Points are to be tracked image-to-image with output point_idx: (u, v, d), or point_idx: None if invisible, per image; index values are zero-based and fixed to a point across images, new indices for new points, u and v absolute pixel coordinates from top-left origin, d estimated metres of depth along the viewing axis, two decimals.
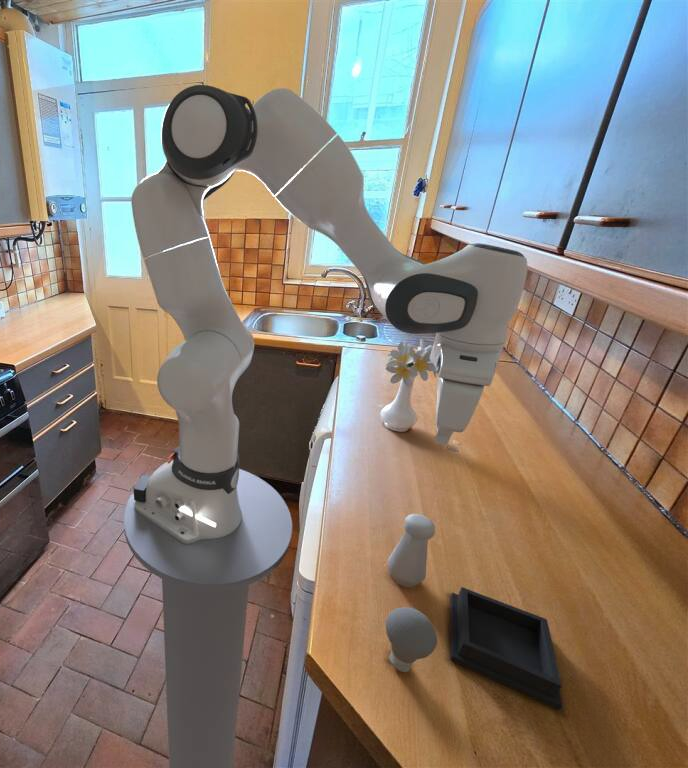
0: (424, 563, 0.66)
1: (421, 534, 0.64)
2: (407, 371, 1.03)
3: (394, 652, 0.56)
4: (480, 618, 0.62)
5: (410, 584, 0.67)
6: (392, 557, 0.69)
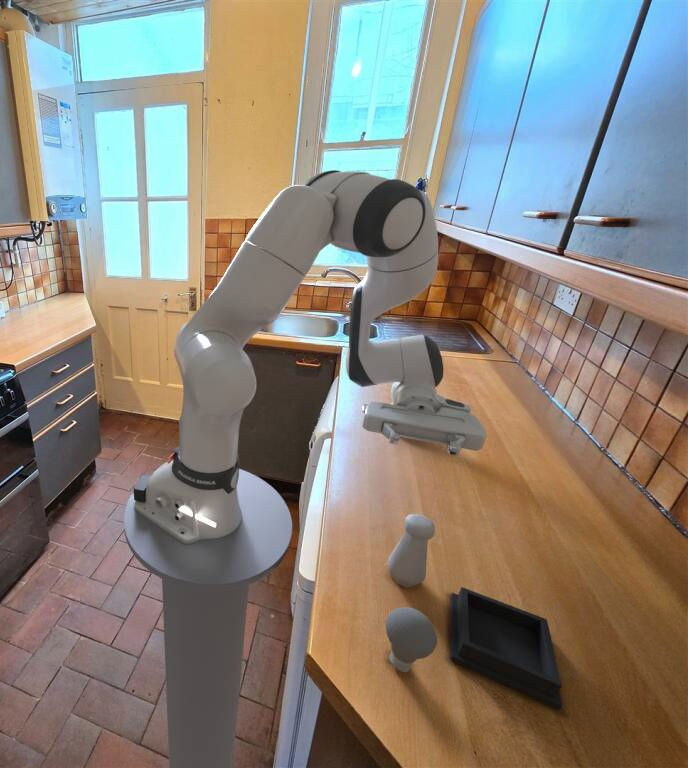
0: (424, 563, 0.66)
1: (421, 534, 0.64)
2: None
3: (394, 652, 0.56)
4: (480, 618, 0.62)
5: (410, 584, 0.67)
6: (392, 557, 0.69)
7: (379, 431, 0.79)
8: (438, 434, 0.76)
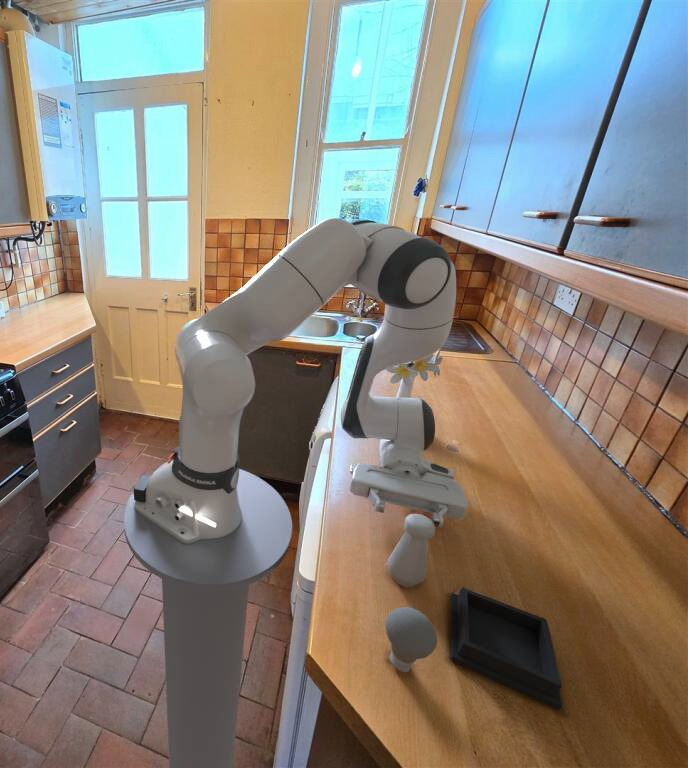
0: (424, 563, 0.66)
1: (421, 534, 0.64)
2: (407, 371, 1.03)
3: (394, 652, 0.56)
4: (480, 618, 0.62)
5: (410, 584, 0.67)
6: (392, 557, 0.69)
7: (366, 496, 0.81)
8: (422, 502, 0.78)
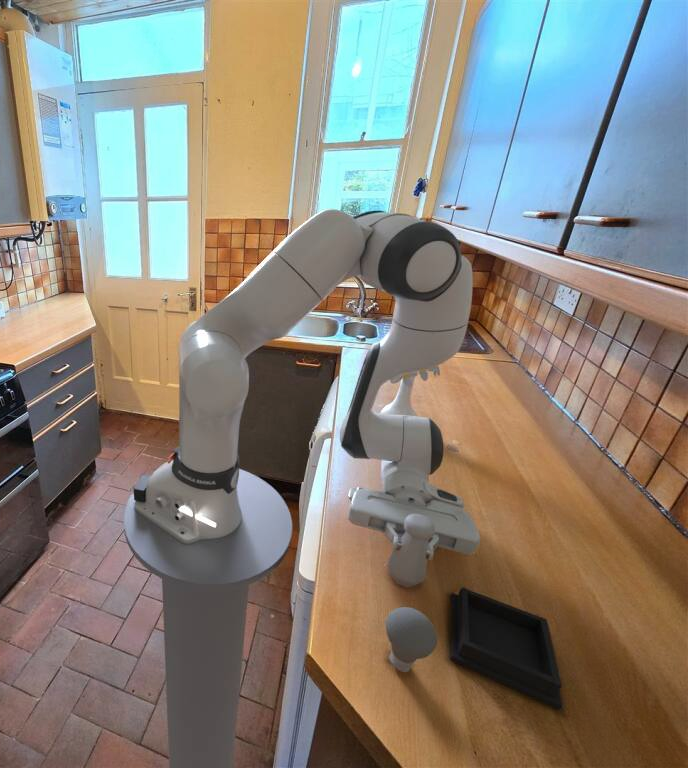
0: (424, 563, 0.66)
1: (421, 534, 0.64)
2: None
3: (394, 652, 0.56)
4: (480, 618, 0.62)
5: (410, 584, 0.67)
6: (392, 557, 0.69)
7: (366, 526, 0.74)
8: None
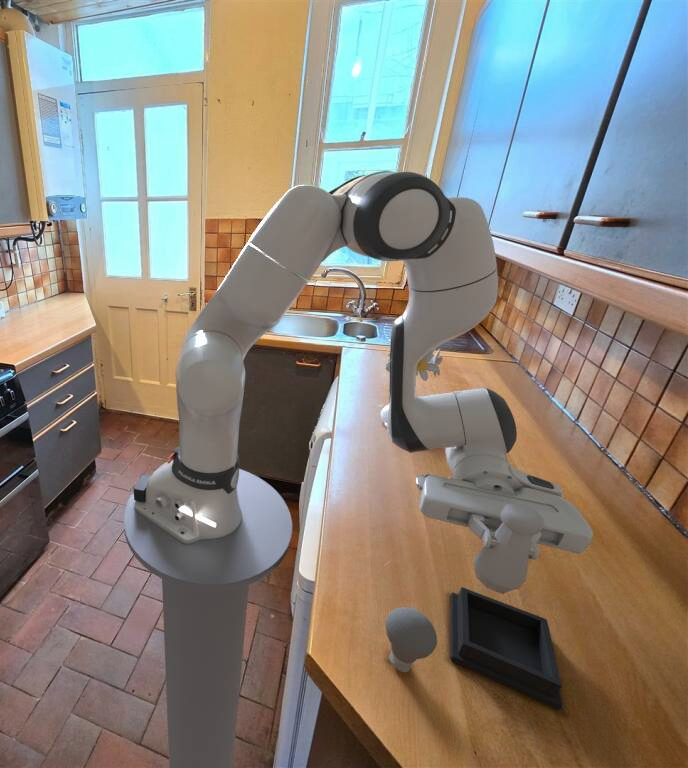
0: (526, 563, 0.54)
1: (528, 528, 0.51)
2: None
3: (394, 652, 0.56)
4: (480, 618, 0.62)
5: (507, 589, 0.55)
6: (482, 556, 0.57)
7: (444, 519, 0.61)
8: None
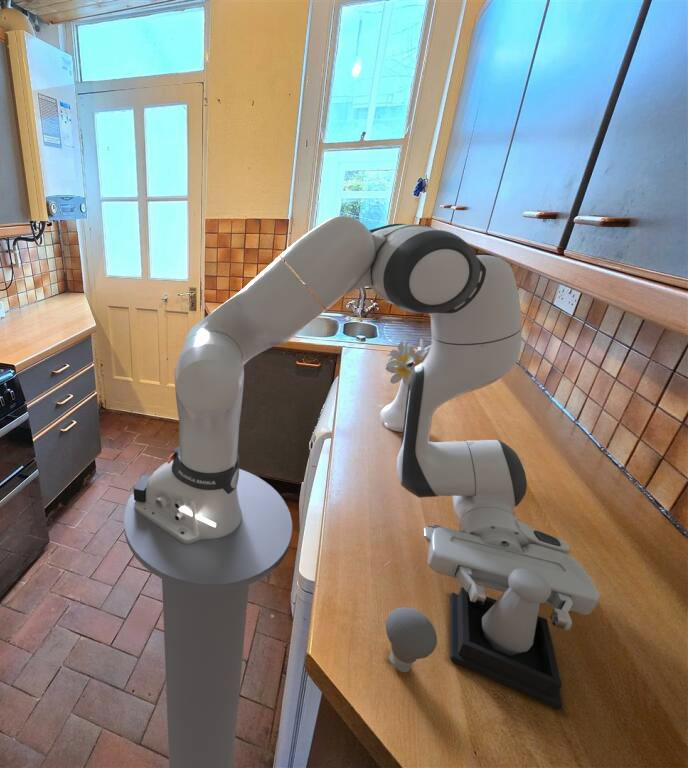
0: (533, 628, 0.55)
1: (536, 597, 0.52)
2: (407, 371, 1.03)
3: (394, 652, 0.56)
4: (480, 618, 0.62)
5: (515, 653, 0.56)
6: (490, 618, 0.58)
7: (452, 575, 0.62)
8: None
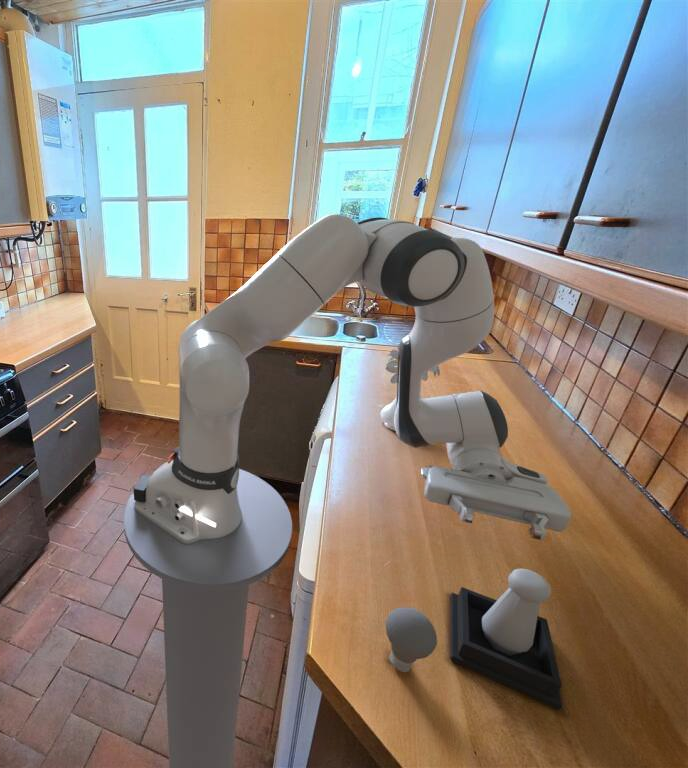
0: (533, 628, 0.55)
1: (536, 597, 0.52)
2: None
3: (394, 652, 0.56)
4: (480, 618, 0.62)
5: (515, 653, 0.56)
6: (490, 618, 0.58)
7: (445, 503, 0.71)
8: (514, 510, 0.68)
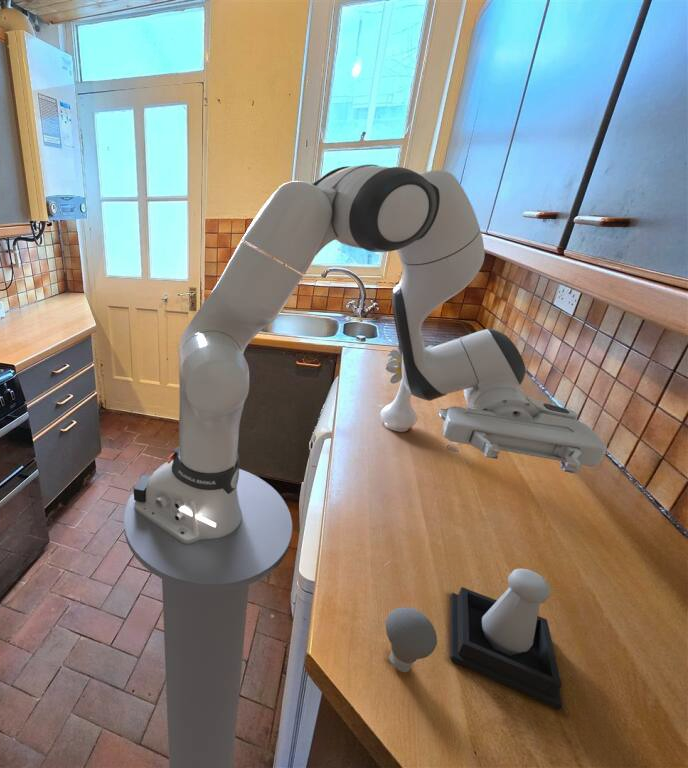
0: (533, 628, 0.55)
1: (536, 597, 0.52)
2: None
3: (394, 652, 0.56)
4: (480, 618, 0.62)
5: (515, 653, 0.56)
6: (490, 618, 0.58)
7: (467, 442, 0.66)
8: (542, 446, 0.63)
